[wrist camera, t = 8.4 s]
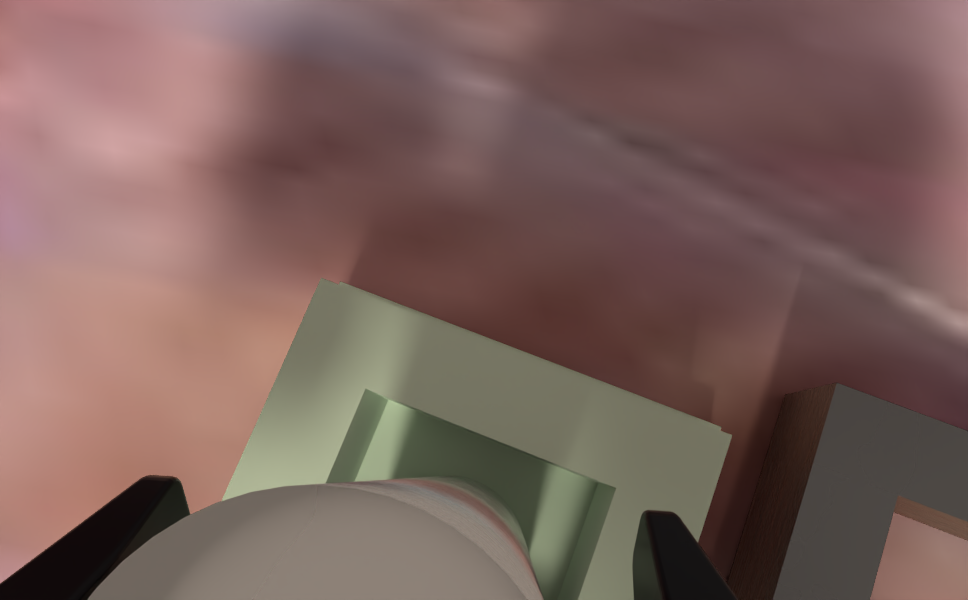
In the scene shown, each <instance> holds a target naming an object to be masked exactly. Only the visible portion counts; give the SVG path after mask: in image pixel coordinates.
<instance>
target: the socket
mask: <svg viewBox="0 0 968 600" xmlns="http://www.w3.org/2000/svg"><path fill="white" fill-rule="evenodd" d="M893 512H895V513H898V514H900V515H903V516H905V517H908V518H911V519H913V520H916V521H918V522H921V523H924V524H926V525H929V526H931V527H934V528H937V529H939V530H942V531H944V532H947V533H950V534H952V535H955V536H957V537H960V538H963V539H965V540H968V431H966V430H964V429H961V428H958V427H955V426H953V425H950V424H947V423H945V422H942V421H939V420H936V419H934V418H931V417H928V416H926V415H923V414H920V413H918V412H915V411H912V410H909V409H907V408H904V407H901V406H899V405H896V404H893V403H890V402H888V401H885V400H882V399H880V398H877V397H874V396H872V395H869V394H866V393H863V392H861V391H858V390H855V389H853V388H850V387H847V386H844V385H842V384H839V383H834V384H829V385H825V386H821V387H816V388H812V389H808V390H803V391H799V392H795V393H790V394H786V395H785V397H784V401H783V404H782V407H781V410H780V414H779V417H778V420H777V423H776V427H775V430H774V433H773V436H772V440H771V443H770V446H769V449H768V453H767V456H766V459H765V462H764V465H763V469H762V472H761V475H760V478H759V482H758V485H757V488H756V491H755V495H754V498H753V501H752V504H751V508H750V511H749V514H748V517H747V521H746V524H745V527H744V530H743V534H742V537H741V540H740V543H739V546H738V550H737V553H736V556H735V559H734V563H733V566H732V569H731V572H730V576H729V579H728V582H727V584H728V586H729V587H730V589H731V590H732V591H733V593H734V594H735V596H736V597H737V598H738V600H870V597H871V593H872V590H873V586H874V582H875V579H876V575H877V571H878V568H879V564H880V560H881V556H882V553H883V549H884V545H885V542H886V538H887V534H888V531H889V527H890V523H891V520H892V516H893Z"/></svg>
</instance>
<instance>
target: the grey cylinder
mask: <svg viewBox="0 0 968 600" xmlns="http://www.w3.org/2000/svg"><path fill="white" fill-rule="evenodd" d="M87 600H544V599H543V596H542V593H541V589H540V586H539V583H538V580H537V577H536V574H535V570H534V567H533V564H532V561H531V558H530V555H529V552H528V548H527V545H526V542H525V539H524V536H523V533H522V530H521V526H520V524H519V522H518V520H517V518H516V516H515V514H514V513H513V511H512V509H511V508H510V507H509V505H508V504H507V503H506V502H505V500H504V499H503V498H502V497H501V496H500V495H498V494H497V493H496V492H495V491H493V490H492V489H491V488H489V487H488V486H486V485H484V484H482V483H480V482H478V481H475V480H472V479H469V478H465V477H460V476H435V477H419V478H404V479H388V480H372V481H357V482H341V483H325V484H310V485H294V486H283V487H277V488H271V489H265V490H260V491H254V492H249V493H246V494H243V495H240V496H236V497H233V498H230V499H227V500H224V501H220V502H217V503H215V504H213V505H211V506H208V507H206V508H204V509H202V510H200V511H197V512H195V513H193V514H191V515H189V516H187V517H184V518H183V519H181V520H179V521H178V522H176V523H175V524H173V525H171V526H170V527H168V528H167V529H165V530H163V531H162V532H160V533H158V534H157V535H155V536H154V537H152V538H151V539H150V540H148V541H147V542H146V543H145V544H143V545H142V546H141V547H140V548H138V549H137V550H136V551H135V552H133V553H132V554H131V555H130V556H128V557H127V558H126V559H125V560H123V561H122V562H121V563H120V564H119V566H118V567H117V568H116V569H115V570H114V571H113V572H112V573H111V574H110V575H109V576H108V577H107V578H106V579H105V580H104V581H103V582H102V583H101V584H100V585H99V586H98V587H97V588H96V589H95V590H94V592H93V593H92V594H91V596H90V597H89V598H88V599H87Z"/></svg>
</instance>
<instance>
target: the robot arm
mask: <svg viewBox="0 0 968 600" xmlns="http://www.w3.org/2000/svg"><path fill="white" fill-rule="evenodd" d="M189 515H190V512H189V508H188V504H187V501H186V497H185V494H184V490H183V486H182V484H181V481H180V480H179V479H178V478H176V477H173V476H159V475H148V476H145V477H143V478H141V479H139V480H138V481H137V482H135V483H134V484H133V485H131V486H130V487H129V488H127V489H126V490H125V491H123V492H122V493H121V494H119V495H118V496H117V497H115V498H114V499H113V500H111V501H110V502H109V503H107V504H106V505H105V506H103V507H102V508H101V509H99V510H98V511H97V512H95V513H94V514H93V515H91V516H90V517H89V518H87V519H86V520H85V521H83V522H82V523H81V524H79V525H78V526H77V527H75V528H74V529H73V530H71V531H70V532H69V533H67V534H66V535H65V536H63V537H62V538H61V539H59V540H58V541H57V542H55V543H54V544H53V545H51V546H50V547H48V548H47V549H46V550H44V551H43V552H42V553H40V554H39V555H38V556H36V557H35V558H34V559H32V560H31V561H30V562H28V563H27V564H26V565H24V566H23V567H22V568H20V569H19V570H18V571H16V572H15V573H14V574H12V575H11V576H10V577H8V578H7V579H6V580H4V581H3V582H2V583H0V600H87V599H88V598H89V597H90V596H91V594H92V593H93V592H94V590H95V589H96V588H97V587H98V586H99V585H100V584H101V583H102V582H103V581H104V580H105V579H106V578H107V577H108V576H109V575H110V574H111V573H112V572H113V571H114V570H115V569H116V568H117V567H118V566H119V564H120V563H121V562H122V561H123V560H125V559H126V558H127V557H128V556H130V555H131V554H132V553H133V552H135V551H136V550H137V549H138V548H140V547H141V546H142V545H143V544H145V543H146V542H147V541H148V540H150V539H151V538H152V537H154V536H155V535H157V534H158V533H160V532H162V531H163V530H165V529H167V528H168V527H170V526H171V525H173V524H175V523H176V522H178V521H179V520H181V519H183V518H184V517H187V516H189ZM632 571H633V592H634V600H738V598H737V597H736V596H735V594H734V593H733V591H732V590H731V589H730V587H729V586H728V584H727V583H726V582H725V580H724V579H723V577H722V576H721V575H720V573H719V572H718V570H717V569H716V568H715V566H714V565H713V563H712V562H711V561H710V559H709V558H708V556H707V555H706V553H705V552H704V551H703V549H702V548H701V546H700V545H699V544H698V542H697V541H696V539H695V538H694V537H693V535H692V534H691V532H690V531H689V530H688V528H687V527H686V525H685V524H684V523H683V521H682V520H681V518H680V517H679V516H678V515H677V514H676V513H674V512H671V511H659V510H645V511H644V512H643V513H642V515H641V518H640V522H639V527H638V532H637V537H636V541H635V546H634V551H633V562H632Z"/></svg>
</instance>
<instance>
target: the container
mask: <svg viewBox="0 0 968 600" xmlns="http://www.w3.org/2000/svg"><path fill="white" fill-rule="evenodd" d="M720 430H721V427H720V426H718V425H715V424H712V423H710V422H707V421H704V420H702V419H699V418H697V417H694V416H691V415H689V414H686V413H683V412H681V411H678V410H676V409H673V408H670V407H668V406H665V405H663V404H660V403H657V402H655V401H652V400H649V399H647V398H644V397H642V396H639V395H636V394H634V393H631V392H629V391H626V390H623V389H621V388H618V387H615V386H613V385H610V384H608V383H605V382H602V381H600V380H597V379H594V378H592V377H589V376H587V375H584V374H581V373H579V372H576V371H574V370H571V369H568V368H566V367H563V366H560V365H558V364H555V363H553V362H550V361H547V360H545V359H542V358H540V357H537V356H534V355H532V354H529V353H526V352H524V351H521V350H519V349H516V348H513V347H511V346H508V345H505V344H503V343H500V342H498V341H495V340H492V339H490V338H487V337H485V336H482V335H479V334H477V333H474V332H471V331H469V330H466V329H464V328H461V327H458V326H456V325H453V324H451V323H448V322H445V321H443V320H440V319H437V318H435V317H432V316H430V315H427V314H424V313H422V312H419V311H416V310H414V309H411V308H409V307H406V306H403V305H401V304H398V303H396V302H393V301H390V300H388V299H385V298H382V297H380V296H377V295H375V294H372V293H369V292H367V291H364V290H362V289H359V288H356V287H354V286H351V285H348V284H346V283H343V282H341V281H340V283H339V284H336V283H333V282H331V281H328V280H326V279H323V278H321V279H320V282H319V284H318V286H317V288H316V291H315V293H314V295H313V297H312V300H311V302H310V304H309V306H308V309H307V311H306V313H305V315H304V317H303V320H302V322H301V324H300V326H299V329H298V331H297V333H296V335H295V338H294V340H293V342H292V344H291V347H290V349H289V351H288V353H287V356H286V358H285V360H284V362H283V365H282V367H281V369H280V371H279V373H278V376H277V378H276V380H275V382H274V385H273V387H272V389H271V391H270V394H269V396H268V398H267V400H266V403H265V405H264V407H263V409H262V412H261V414H260V416H259V418H258V421H257V423H256V425H255V427H254V429H253V432H252V434H251V436H250V438H249V441H248V443H247V445H246V447H245V450H244V452H243V454H242V456H241V459H240V461H239V463H238V465H237V468H236V470H235V472H234V474H233V477H232V479H231V481H230V483H229V486H228V488H227V490H226V492H225V494H224V497H223V499H222V501H224V500H227V499H230V498H233V497H236V496H240V495H243V494H246V493H249V492H254V491H260V490H265V489H271V488H277V487H283V486H294V485H310V484H325V483H341V482H357V481H372V480H388V479H404V478H419V477H435V476H460V477H465V478H469V479H472V480H475V481H478V482H480V483H482V484H484V485H486V486H488V487H489V488H491V489H492V490H493V491H495V492H496V493H497V494H498V495H500V496H501V497H502V498H503V499H504V500H505V502H506V503H507V504H508V505H509V507H510V508H511V509H512V511H513V513H514V514H515V516H516V518H517V520H518V522H519V524H520V526H521V530H522V533H523V536H524V539H525V542H526V545H527V548H528V552H529V555H530V558H531V561H532V564H533V567H534V570H535V574H536V577H537V580H538V583H539V586H540V589H541V593H542V596H543V599H544V600H634V592H633V571H632V562H633V551H634V546H635V541H636V537H637V532H638V527H639V522H640V518H641V515H642V513H643V512H644V511H645V510H659V511H671V512H674V513H676V514H677V515H678V516H679V517H680V518H681V520H682V521H683V523H684V524H685V525H686V527H687V528H688V530H689V531H690V532H691V534H692V535H693V537H694V538H695V539H696V541H697V542H698V541H699V538H700V535H701V532H702V529H703V526H704V522H705V519H706V516H707V513H708V510H709V507H710V504H711V501H712V497H713V494H714V491H715V488H716V485H717V482H718V479H719V475H720V472H721V469H722V466H723V463H724V460H725V457H726V454H727V450H728V447H729V444H730V441H731V438H732V435H731V434H728V433H725V432H723V431H720Z"/></svg>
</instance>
